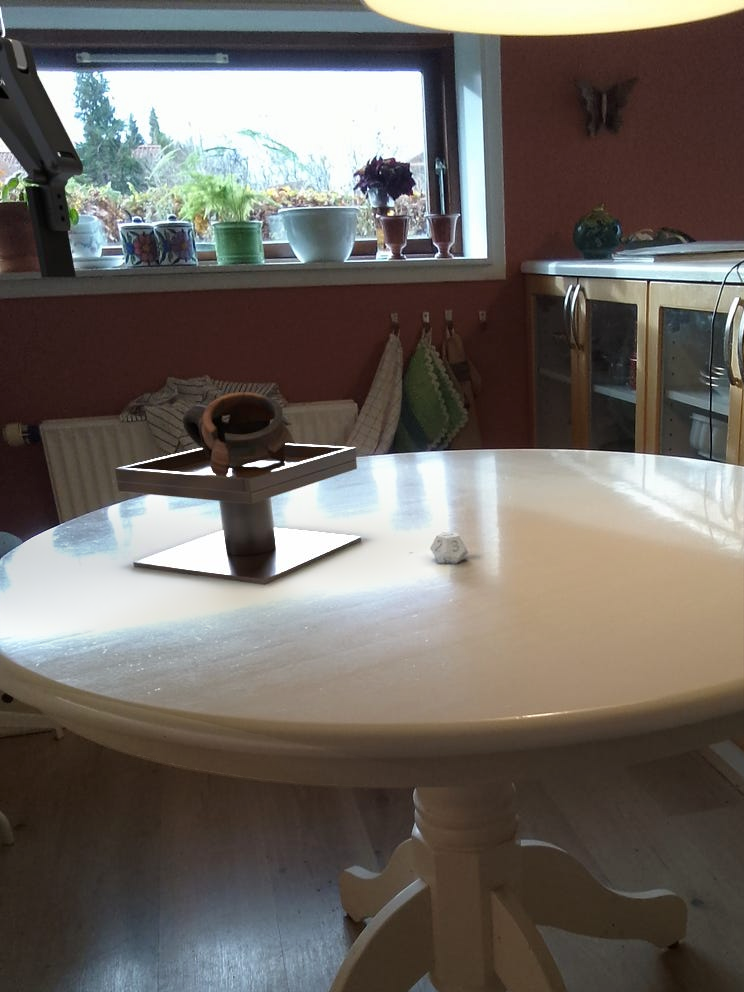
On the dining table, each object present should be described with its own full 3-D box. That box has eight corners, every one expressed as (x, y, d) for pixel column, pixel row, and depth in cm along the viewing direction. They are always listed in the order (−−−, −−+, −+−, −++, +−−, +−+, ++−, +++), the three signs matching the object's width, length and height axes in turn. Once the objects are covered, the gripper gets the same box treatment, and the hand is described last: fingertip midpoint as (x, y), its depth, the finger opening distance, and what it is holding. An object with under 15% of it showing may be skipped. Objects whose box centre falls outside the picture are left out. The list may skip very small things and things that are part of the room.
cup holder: (131, 573, 90) (113, 468, 86) (243, 531, 104) (232, 440, 100) (262, 591, 83) (249, 478, 79) (363, 544, 97) (356, 447, 93)
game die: (428, 561, 91) (427, 531, 90) (465, 558, 91) (464, 529, 90) (433, 571, 87) (431, 540, 86) (471, 568, 88) (470, 538, 87)
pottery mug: (315, 464, 94) (309, 398, 88) (270, 524, 88) (259, 457, 82) (211, 432, 96) (197, 364, 90) (160, 488, 90) (142, 420, 84)
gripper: (100, -40, 67) (146, 274, 75) (-116, 12, 77) (-56, 283, 85) (11, -71, 61) (71, 275, 68) (-211, -11, 71) (-137, 284, 79)
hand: (1, 280), depth 77 cm, fingers open, 13 cm apart
